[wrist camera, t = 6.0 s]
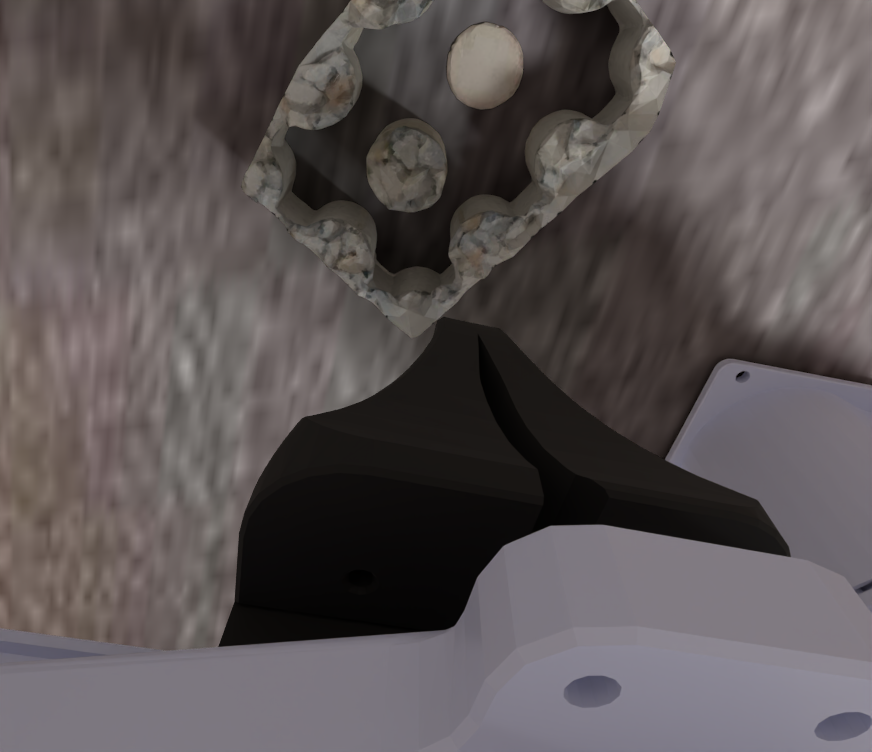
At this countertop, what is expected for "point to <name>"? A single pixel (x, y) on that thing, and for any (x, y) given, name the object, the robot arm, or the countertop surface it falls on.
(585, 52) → the countertop surface
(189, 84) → the countertop surface
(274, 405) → the countertop surface
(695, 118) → the countertop surface
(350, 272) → the grey lobed hollow piece
